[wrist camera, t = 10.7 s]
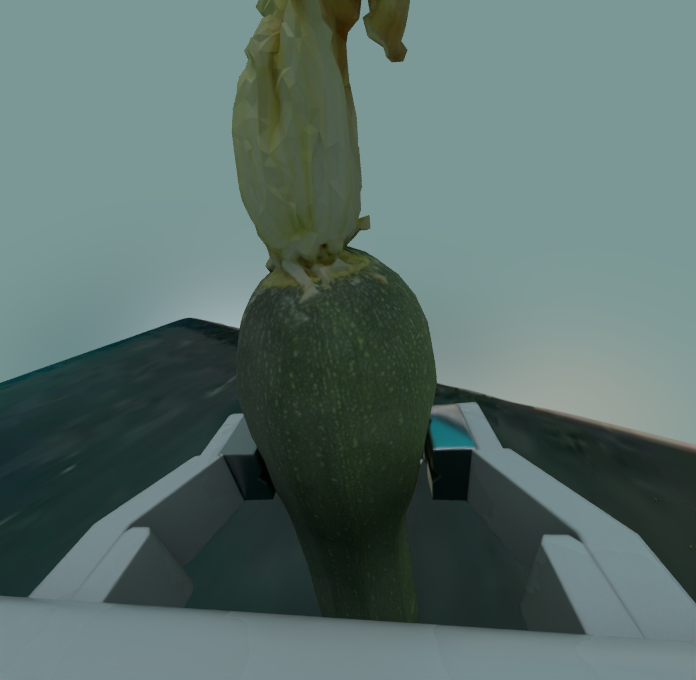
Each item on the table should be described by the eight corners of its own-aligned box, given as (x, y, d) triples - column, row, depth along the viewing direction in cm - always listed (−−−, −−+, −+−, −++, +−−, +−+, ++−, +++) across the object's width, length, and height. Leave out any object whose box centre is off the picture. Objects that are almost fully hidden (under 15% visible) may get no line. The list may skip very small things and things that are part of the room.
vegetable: (314, 631, 12) (24, -20, 3) (369, 544, 15) (290, 75, 6) (399, 744, 9) (-54, -1561, 1) (447, 609, 12) (498, -81, 3)
